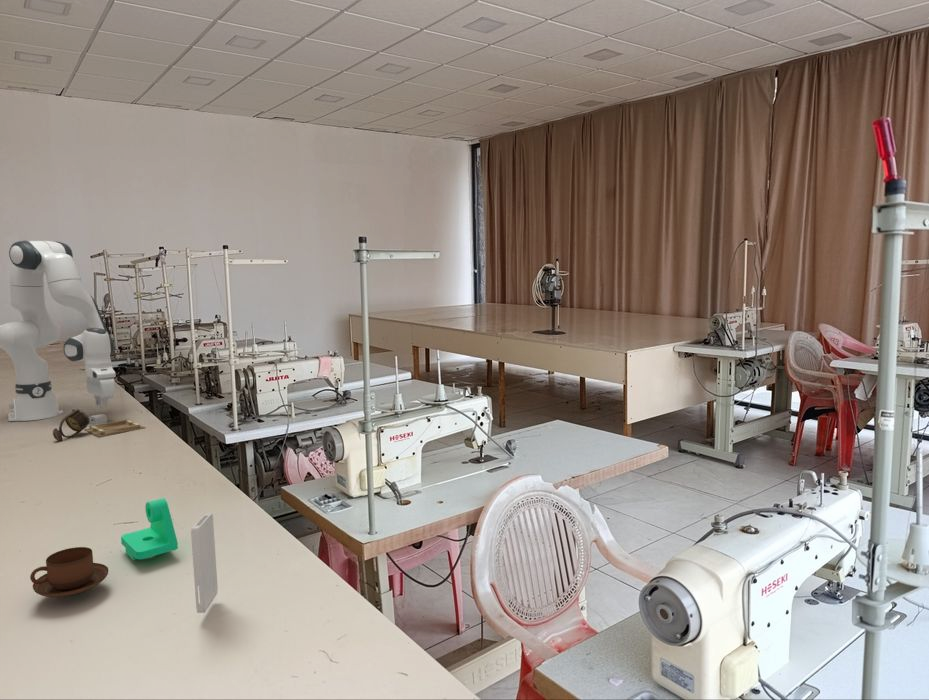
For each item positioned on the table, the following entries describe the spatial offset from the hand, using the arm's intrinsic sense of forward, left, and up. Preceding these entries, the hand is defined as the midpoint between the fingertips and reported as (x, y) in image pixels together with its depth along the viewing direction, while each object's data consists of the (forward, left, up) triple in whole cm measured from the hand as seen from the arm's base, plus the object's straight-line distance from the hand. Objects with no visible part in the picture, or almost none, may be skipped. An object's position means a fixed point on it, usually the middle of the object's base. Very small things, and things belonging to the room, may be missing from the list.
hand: (101, 406), depth 251 cm
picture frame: (+15, -1, -7) cm, 17 cm away
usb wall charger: (0, 0, -7) cm, 7 cm away
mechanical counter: (+15, -14, -7) cm, 22 cm away
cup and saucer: (+139, -49, -7) cm, 147 cm away
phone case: (+163, -35, -7) cm, 167 cm away
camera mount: (+133, -33, -7) cm, 137 cm away
